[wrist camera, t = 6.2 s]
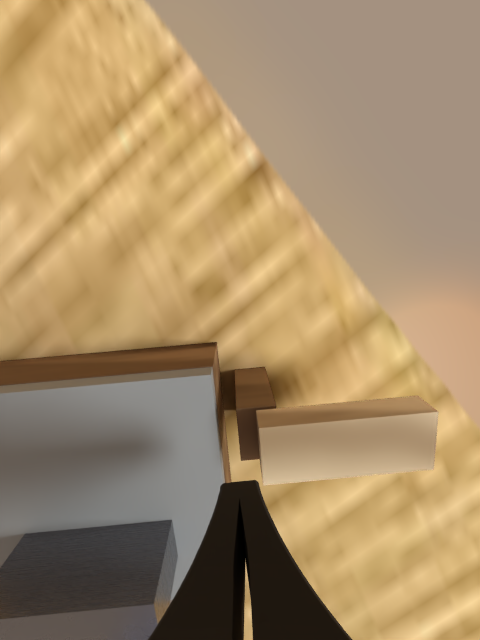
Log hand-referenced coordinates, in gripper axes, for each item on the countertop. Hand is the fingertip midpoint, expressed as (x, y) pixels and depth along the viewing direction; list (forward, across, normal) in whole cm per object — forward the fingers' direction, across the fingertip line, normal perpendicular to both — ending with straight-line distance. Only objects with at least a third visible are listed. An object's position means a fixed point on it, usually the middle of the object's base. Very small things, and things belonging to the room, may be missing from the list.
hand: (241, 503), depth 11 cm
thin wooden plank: (+4, -5, 0) cm, 6 cm away
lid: (+5, +8, +4) cm, 10 cm away
